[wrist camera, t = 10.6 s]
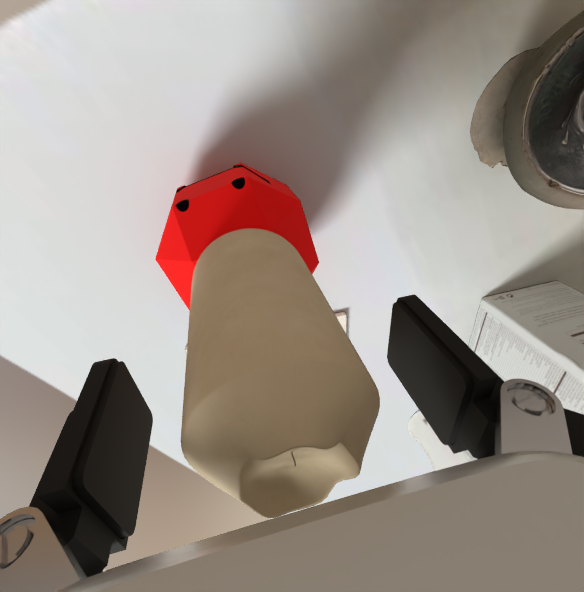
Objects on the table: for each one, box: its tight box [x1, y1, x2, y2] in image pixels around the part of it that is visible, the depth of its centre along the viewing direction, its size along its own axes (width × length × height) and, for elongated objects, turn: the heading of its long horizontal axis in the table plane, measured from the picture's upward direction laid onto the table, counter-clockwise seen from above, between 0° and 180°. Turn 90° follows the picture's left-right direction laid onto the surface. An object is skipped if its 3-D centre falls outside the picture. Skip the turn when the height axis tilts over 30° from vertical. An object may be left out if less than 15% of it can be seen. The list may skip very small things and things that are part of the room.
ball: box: [156, 163, 319, 310], centre depth 19 cm, size 8×8×8 cm
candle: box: [181, 228, 380, 518], centre depth 12 cm, size 6×6×10 cm
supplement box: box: [469, 281, 584, 414], centre depth 28 cm, size 10×9×17 cm
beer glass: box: [407, 410, 474, 471], centre depth 35 cm, size 7×7×15 cm
